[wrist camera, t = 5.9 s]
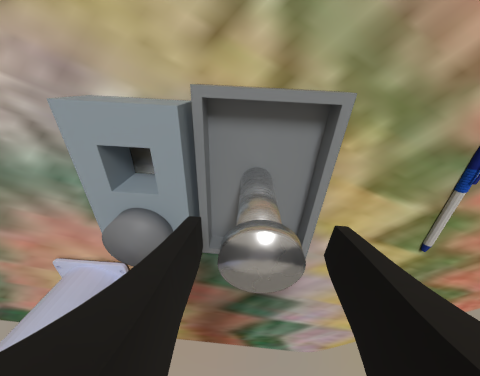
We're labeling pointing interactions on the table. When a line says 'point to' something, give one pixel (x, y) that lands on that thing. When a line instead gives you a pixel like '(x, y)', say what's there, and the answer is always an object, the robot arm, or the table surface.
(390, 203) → the table surface
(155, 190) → the block
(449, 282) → the table surface
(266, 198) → the lock pin
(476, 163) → the ballpoint pen
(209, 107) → the tray
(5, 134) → the table surface
